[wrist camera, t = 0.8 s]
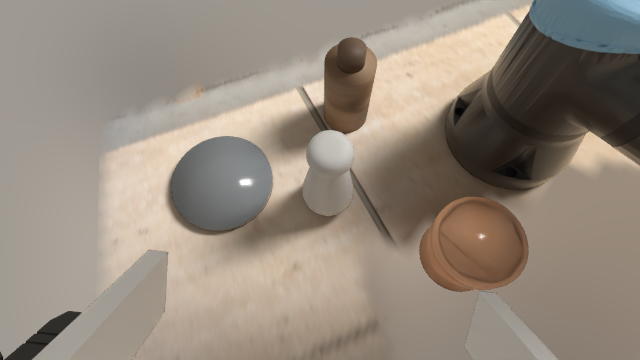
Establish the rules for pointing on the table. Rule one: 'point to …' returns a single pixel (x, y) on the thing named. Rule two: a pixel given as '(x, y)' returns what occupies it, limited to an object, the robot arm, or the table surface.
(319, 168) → the salt shaker
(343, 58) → the walnut pepper mill
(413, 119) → the table surface
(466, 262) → the terracotta pot
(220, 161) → the slate coaster
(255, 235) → the table surface
